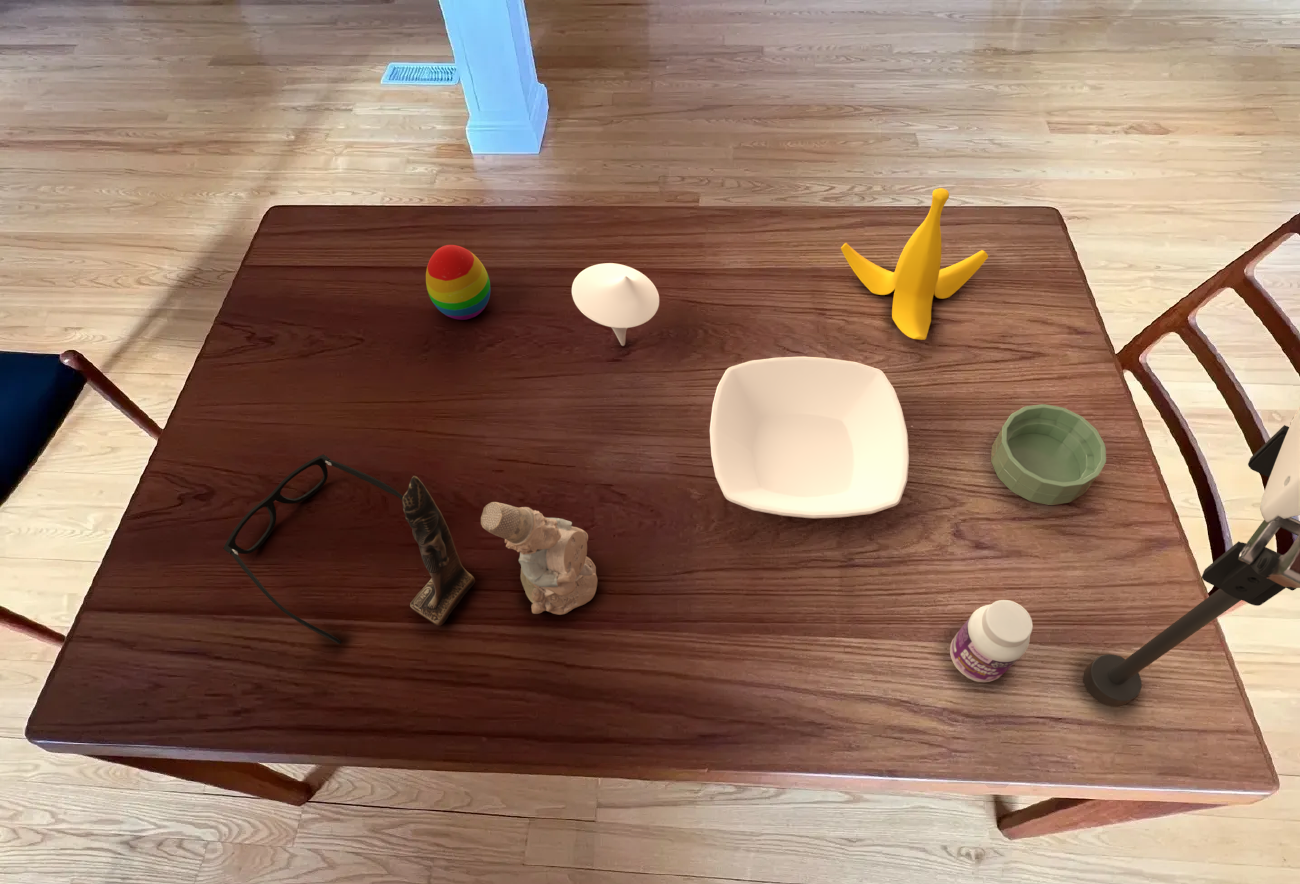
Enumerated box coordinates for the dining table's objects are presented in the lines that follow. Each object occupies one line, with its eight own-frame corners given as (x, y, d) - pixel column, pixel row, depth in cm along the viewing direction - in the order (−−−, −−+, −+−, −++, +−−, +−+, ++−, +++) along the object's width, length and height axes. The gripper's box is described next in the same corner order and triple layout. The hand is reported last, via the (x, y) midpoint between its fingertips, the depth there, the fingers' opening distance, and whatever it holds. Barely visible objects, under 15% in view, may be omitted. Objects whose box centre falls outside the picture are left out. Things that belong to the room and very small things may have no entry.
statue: (411, 611, 83) (339, 520, 67) (453, 558, 87) (395, 459, 70) (441, 630, 82) (376, 542, 65) (483, 575, 85) (431, 478, 69)
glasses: (339, 465, 95) (321, 440, 91) (444, 533, 88) (430, 510, 84) (229, 570, 88) (205, 549, 84) (334, 653, 81) (313, 635, 77)
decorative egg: (502, 286, 110) (486, 230, 102) (486, 330, 105) (468, 274, 97) (446, 282, 111) (425, 226, 103) (428, 325, 107) (405, 270, 98)
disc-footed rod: (1139, 679, 76) (1278, 584, 57) (1122, 716, 74) (1260, 630, 56) (1093, 652, 77) (1214, 551, 59) (1075, 688, 75) (1194, 595, 57)
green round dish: (1103, 457, 89) (1121, 434, 86) (1066, 524, 85) (1083, 503, 81) (1013, 413, 93) (1026, 389, 90) (973, 474, 89) (985, 452, 85)
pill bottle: (946, 675, 77) (974, 640, 69) (951, 624, 79) (979, 585, 71) (1004, 691, 76) (1040, 657, 68) (1007, 639, 78) (1042, 600, 70)
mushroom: (658, 310, 106) (654, 241, 96) (665, 373, 100) (661, 306, 90) (581, 317, 106) (569, 249, 96) (583, 380, 100) (570, 314, 90)
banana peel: (837, 260, 109) (857, 156, 96) (980, 268, 107) (1021, 162, 93) (836, 351, 100) (858, 250, 86) (992, 361, 98) (1040, 260, 84)
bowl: (909, 543, 85) (920, 519, 80) (707, 536, 86) (707, 513, 82) (888, 384, 97) (897, 356, 92) (711, 381, 99) (711, 354, 94)
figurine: (509, 616, 82) (461, 525, 66) (529, 544, 87) (489, 442, 71) (592, 628, 81) (564, 539, 65) (608, 554, 86) (586, 453, 69)
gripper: (1554, 531, 30) (1281, 677, 44) (1597, 265, 37) (1351, 463, 51) (1331, 438, 33) (1142, 602, 47) (1412, 208, 40) (1227, 410, 54)
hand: (1252, 529), depth 49 cm, fingers open, 9 cm apart
